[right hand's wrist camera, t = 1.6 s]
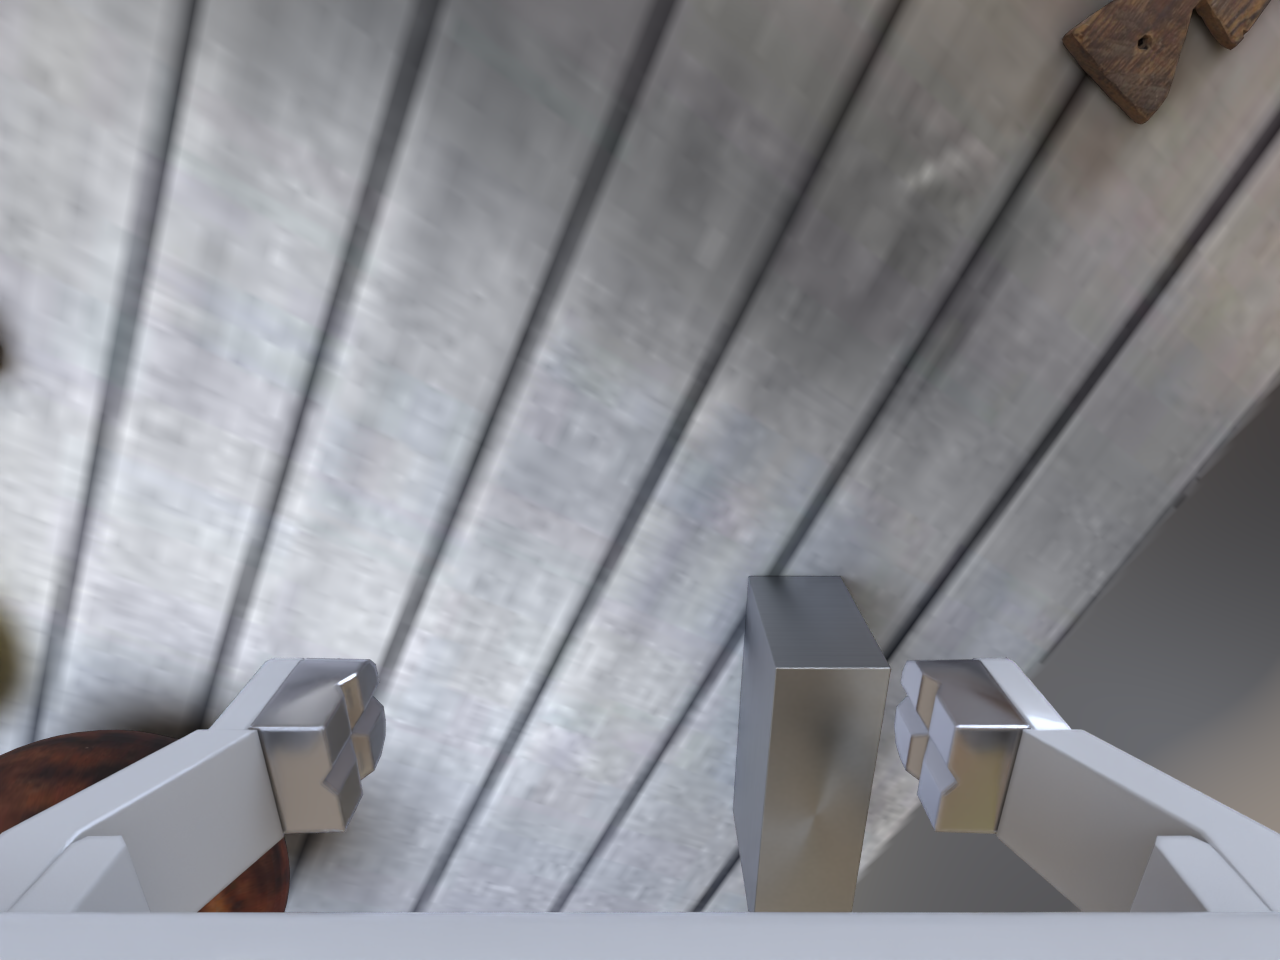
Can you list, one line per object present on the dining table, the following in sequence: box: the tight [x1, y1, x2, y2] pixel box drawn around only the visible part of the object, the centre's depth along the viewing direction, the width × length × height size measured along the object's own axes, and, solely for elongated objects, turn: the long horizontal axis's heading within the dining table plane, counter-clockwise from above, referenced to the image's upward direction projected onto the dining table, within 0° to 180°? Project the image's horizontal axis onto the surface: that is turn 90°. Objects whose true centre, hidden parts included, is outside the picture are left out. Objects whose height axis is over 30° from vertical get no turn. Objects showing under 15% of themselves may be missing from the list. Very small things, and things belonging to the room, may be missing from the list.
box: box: [733, 576, 891, 912], centre depth 46 cm, size 21×6×10 cm, turn 0°
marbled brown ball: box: [0, 730, 290, 912], centre depth 46 cm, size 22×18×20 cm
